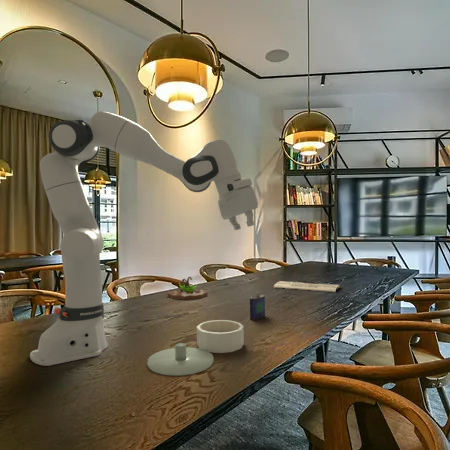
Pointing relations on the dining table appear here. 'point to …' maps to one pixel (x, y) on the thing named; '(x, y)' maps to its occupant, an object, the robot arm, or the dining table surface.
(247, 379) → the dining table surface
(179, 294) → the plant
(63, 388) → the dining table surface
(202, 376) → the dining table surface
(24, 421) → the dining table surface
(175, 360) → the lid
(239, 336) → the bowl
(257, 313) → the flask
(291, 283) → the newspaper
